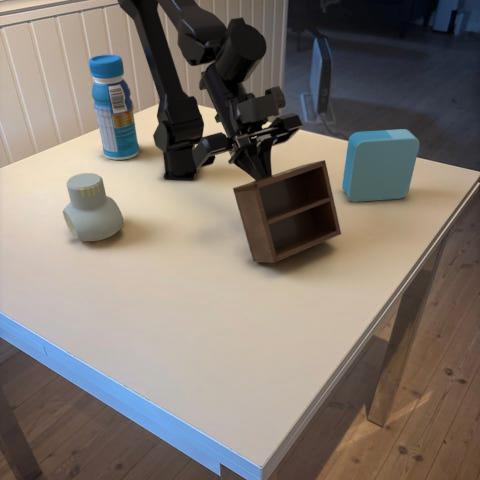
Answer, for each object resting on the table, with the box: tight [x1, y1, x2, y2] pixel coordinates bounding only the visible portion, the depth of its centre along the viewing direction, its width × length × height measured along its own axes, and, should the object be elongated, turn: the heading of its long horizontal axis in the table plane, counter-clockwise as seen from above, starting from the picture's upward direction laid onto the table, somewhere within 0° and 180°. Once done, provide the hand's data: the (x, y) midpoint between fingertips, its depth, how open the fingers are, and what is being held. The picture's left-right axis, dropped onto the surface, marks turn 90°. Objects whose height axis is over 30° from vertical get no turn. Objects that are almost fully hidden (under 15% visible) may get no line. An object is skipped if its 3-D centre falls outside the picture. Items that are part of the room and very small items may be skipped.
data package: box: [341, 128, 420, 203], centre depth 92 cm, size 12×4×12 cm, turn 97°
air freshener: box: [62, 172, 125, 242], centre depth 84 cm, size 11×8×10 cm
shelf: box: [232, 159, 342, 264], centre depth 78 cm, size 6×14×12 cm, turn 125°
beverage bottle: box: [88, 54, 140, 161], centre depth 106 cm, size 8×8×20 cm
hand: (269, 188), depth 79 cm, fingers closed, pressing on shelf
